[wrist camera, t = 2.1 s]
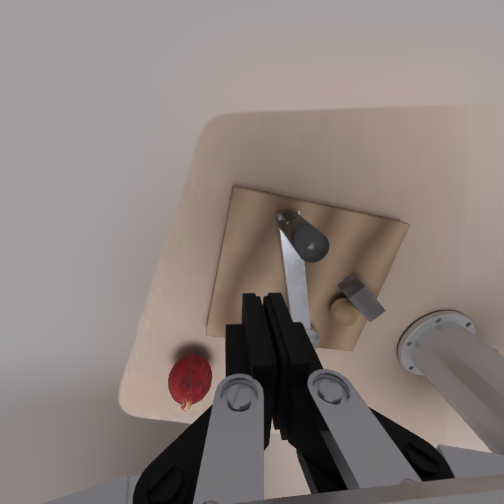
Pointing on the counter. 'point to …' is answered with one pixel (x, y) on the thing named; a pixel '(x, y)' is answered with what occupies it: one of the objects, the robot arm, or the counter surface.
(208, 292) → the counter surface
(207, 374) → the onion
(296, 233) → the lever
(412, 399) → the counter surface
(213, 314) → the board
